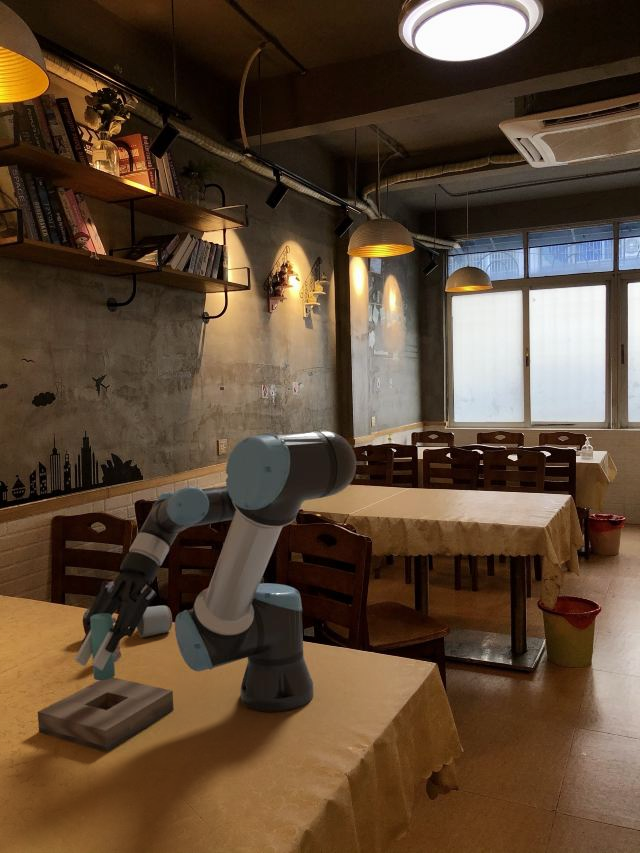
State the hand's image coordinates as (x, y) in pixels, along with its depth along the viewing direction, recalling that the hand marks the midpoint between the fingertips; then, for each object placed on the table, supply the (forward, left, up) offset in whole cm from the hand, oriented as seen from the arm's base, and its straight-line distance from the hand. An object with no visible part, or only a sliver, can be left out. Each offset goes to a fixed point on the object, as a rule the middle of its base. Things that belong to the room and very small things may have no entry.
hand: (88, 664), depth 134 cm
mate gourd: (+36, -37, -13) cm, 53 cm away
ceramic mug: (+27, -46, -13) cm, 55 cm away
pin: (0, -4, -4) cm, 5 cm away
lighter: (+22, -27, -13) cm, 37 cm away
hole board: (-1, -3, -12) cm, 13 cm away
